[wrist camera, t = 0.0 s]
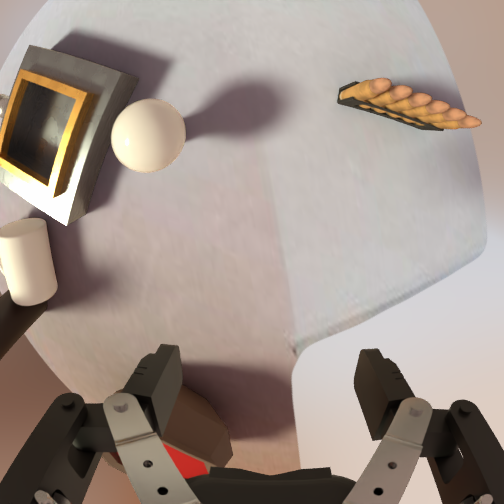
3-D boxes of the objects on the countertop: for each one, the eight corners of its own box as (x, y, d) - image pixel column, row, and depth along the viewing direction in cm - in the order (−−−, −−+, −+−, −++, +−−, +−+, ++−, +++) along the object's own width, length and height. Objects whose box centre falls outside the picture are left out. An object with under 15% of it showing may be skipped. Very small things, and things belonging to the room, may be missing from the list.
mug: (56, 218, 34) (20, 239, 27) (67, 282, 38) (38, 311, 31) (5, 215, 34) (-28, 233, 27) (17, 272, 38) (-12, 295, 31)
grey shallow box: (34, 45, 24) (6, 40, 18) (139, 78, 27) (114, 70, 21) (-3, 159, 30) (-30, 167, 25) (85, 214, 33) (59, 230, 28)
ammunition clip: (336, 103, 28) (376, 89, 16) (339, 87, 27) (379, 65, 16) (422, 130, 28) (487, 137, 17) (424, 115, 27) (489, 116, 16)
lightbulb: (163, 96, 28) (117, 84, 18) (214, 119, 29) (188, 114, 19) (139, 147, 30) (86, 159, 20) (187, 171, 31) (151, 192, 21)
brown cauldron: (87, 370, 45) (49, 436, 30) (193, 342, 40) (164, 437, 25) (161, 442, 53) (144, 502, 38) (261, 429, 48) (258, 504, 33)
